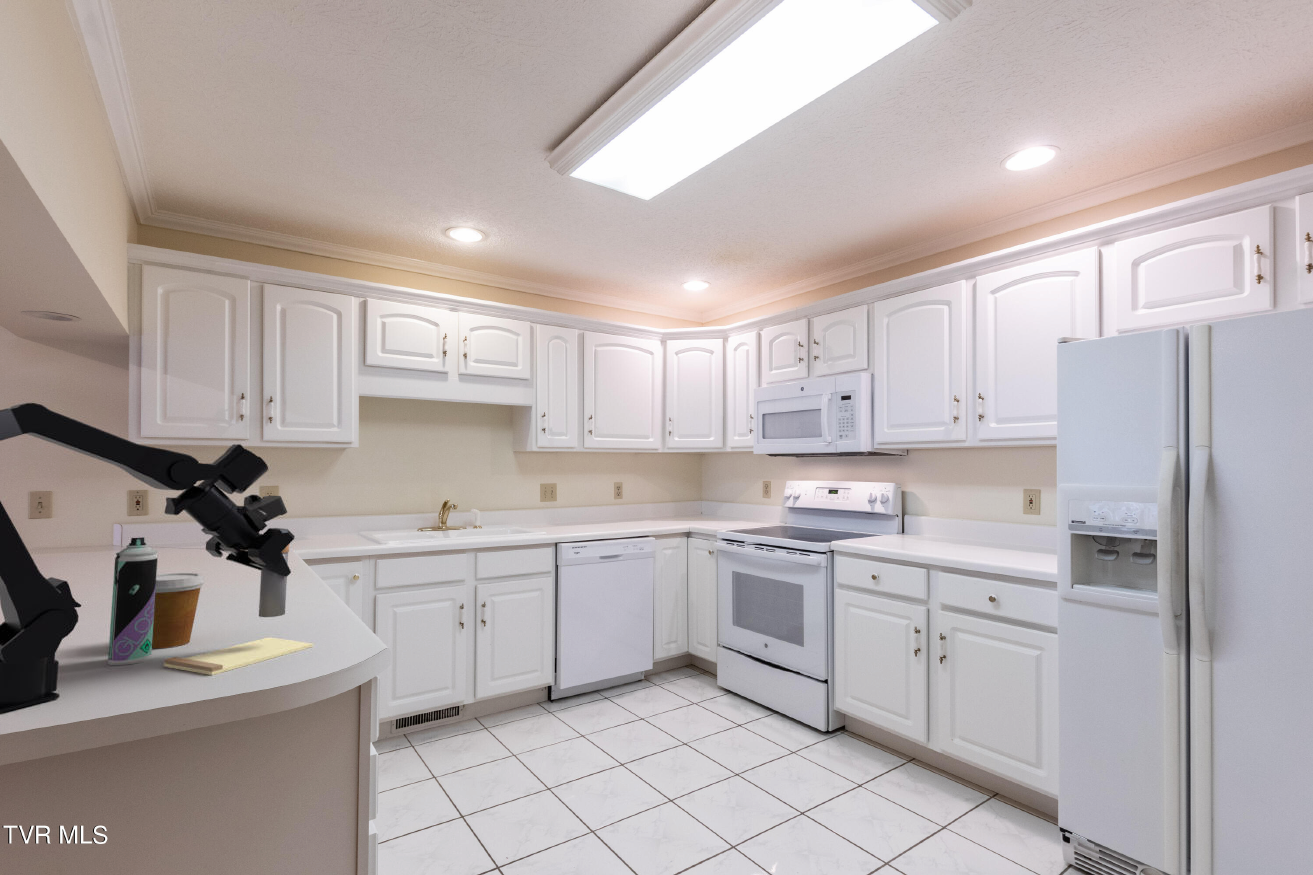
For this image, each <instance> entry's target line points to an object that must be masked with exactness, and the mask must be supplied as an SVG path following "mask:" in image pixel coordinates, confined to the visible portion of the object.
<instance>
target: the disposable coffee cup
mask: <svg viewBox="0 0 1313 875" xmlns="http://www.w3.org/2000/svg"><path fill="white" fill-rule="evenodd" d="M204 583H205V581H204V580H203V576H202V573H195V572H194V573H193V572H178V573H177V572H176V573H175V572H174V573H164V574H163V573H161V574H156V590H155V605H154V621H153V636H152V649H169V648H175V647H179V646H183V645H187V644H189V643H190V641H191V638H192V637H191V636H192V632H193V626H194V622H195V617H196V612H197V609H198V608H197V607H198V603H199V597H200V594H201V593H200V592H201V588H202V587H203V584H204Z"/></svg>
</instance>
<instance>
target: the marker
mask: <svg viewBox="0 0 1313 875" xmlns="http://www.w3.org/2000/svg"><path fill="white" fill-rule="evenodd" d="M289 552H290V544H289V545H288V546H287V547H286V548H285V549H284V550H283V551H282V554H283V556H284V558H285V560H286V562H287V564H288V562H289ZM288 565H289V564H288ZM287 580H288V576H287V577H285V576H282V575H279V574H277V573H274V572H271V571H269V570H266V569H263V568H261V571H260V581H259V582H260V584H259V585H260V586H259V600H258V602H259V603H258V604H259V605H258V617H259V618H274V617H280V616H284V615H285V614H286V601H287V600H286V598H287V582H288V581H287Z"/></svg>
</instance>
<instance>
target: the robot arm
mask: <svg viewBox="0 0 1313 875" xmlns="http://www.w3.org/2000/svg"><path fill="white" fill-rule="evenodd" d="M22 435H28V436H31V437H33V438H37V439H40V440H42V441H46V442H49V443H51V444H54V445H57V446H59V447H61V448H64V449H67V450H71V451H73V452H77V453H79V454H82V455H85V456H87V457H91V458H93V459H97V460H99V461H101V462H104V463H107V464H110V465H113V466H115V467H118V468H120V469H121V470H123V471H124V472H126V473H127V474H129V475H130V476H132V477H133V478H136V480H139V481H141V482H143V483H144V484H146V485H147V486H149V487H152V488H154V489H157V490H162V491H163V490H164V491H181V493H179V494H178V495H177V496H176V497H166V498H165V501H166V504H165V506H164V507H165V508H164V514H166V515H169V516H170V515H172V516H178V515H180V514H181V513H182V512H183V511H184V512H185V513H186V514H188V515H189V516H190V517H191V519H193V520H195V521H196V522H197V524H199V526H201V527H202V529H201V530H200V531H201V532H202V533H204V534H205V535H209V536H210V535H211V537H210V538H209V539H208V540H207V541H206V542H205V551H206V552H207V553H209V554H210V555H211V556H212V557H214V558H222V557H223V556H224V553H223V552H225V553H227V554H228V555H227V556H226V558H225V560H226V561H230V562H233V563H236V564H239V565H242V566H245V567H248V568H251V569H254V570H258V571H260V572H261V568H263V569H266V570H269V571H271V572H274V573H277V574H279V575H282V576H285V577H287V578H288V577H289V575H291V572H292V571H291V569H290V567H289V564H287V562H286V560H285V558H284V556H283V554H282V551H283V550H284V549H285V548H286V547H287V546H288V545H289V546H290V544H291V543H292V542H293V541H294V540H295V537H296V536H295V535H294V534H293V533H292V532H291V531H290V530H289V529H288V528H281V527H271V528H267V526H268V524H266V523H267V522H269V521H272V520H273V519H275V518H278V517H279V516H284V515H286V514H287V513H288V511H287V507H286V506H285V503H284V500H283V498H282V496H281V495H268V496H267V495H264V496H262V497H261V496H259V495H258V494H250V495H247V496H246V497H244V499H243V505H237V504H236V503H235V501H233V500H232V499H231V498H230V497H229V496H228V495H227V494H229V495H232V494H234V493H236V494H240V495H242V494H243V493H245V492H246V491H247V490H248V489H249V488H250V487H251V486H252V485H253V484H254V483H256V482H257V481H258V480H259V479H260V478H261V477H262V476H264V475H265V474H266V473H267V472H268V471H269V466H268V464H267V463H266V462H265V460H264V459H263V458H262V457H261V456H258V455H256V454H255V453H254V452H252V451H251V450H249V449H246V448H245V447H243V446H242V444H241V443H240V444H239V443H238V444H236V443H235V444H234V443H233V444H232V445H231V446H230V447H228V448H227V449H226V451H225V452H224V453H223V454H222V455H221V456H219V457H218V458H217V459H215V460H214V461H213V462H212V463H204V462H203V463H202V462H199V460H198V459H197V458H195V457H194V456H192V455H190V454H186V453H181V452H177V451H173V450H170V449H165V448H160V447H159V448H158V447H153V446H147V445H143V444H139V443H136V442H134V441H131V440H128V439H125V438H122V437H121V436H118V435H116V434H113V433H110V432H108V431H106V430H105V431H104V430H102V429H100V428H98V427H95V426H92V425H89V424H87V423H84V422H81V421H79V420H76V419H74V418H71V417H69V416H66V415H64V414H60V413H59V412H56V411H53V410H51V409H50V408H47V407H46V406H45V405H42V404H39V403H36V402H27V403H25V402H24V403H18V404H15V405H13V406H10V407H9V408H4V409H0V442H1V441H4V440H8V439H11V438H15V437H19V436H22ZM198 482H200V483H199V484H197V483H198ZM196 484H197V485H196ZM265 528H267V529H266V531H265V532H263V533H260V532H261V531H264V530H265ZM81 607H82V604H81V603H79V602H78V601H76V599H75V598H74V596H73V594H72V591H71V587H70V585H69V583H68V580H64V579H59V578H56V577H53V576H50V577H49V578H46V577H45V576H44V575H43V574H42V573H41V571H40V570H39V568H38V566H37V564H36V563H35V561H34V559H33V557H32V556H31V553H30V552H29V550H28V547H26V544H25V542H24V541H23V539H22V538H21V535H20V533H19V532H18V529H17V528H16V526H15V524H14V523H13V521H12V519H11V517H10V516H9V514H8V511H6V509H5V507H4V505H3V503H2V501H1V500H0V608H1V612H2V615H3V619H4V621H2V623H0V713H4V712H10V711H12V710H13V711H14V710H17V709H20V708H24V707H28V706H31V705H36V704H39V703H40V704H41V703H44V702H47V701H50V700H56V699H59V698H60V696H61V695H60V693H58V692H56V691H57V688H58V677H59V676H58V674H59V663H60V661H59V660H57V659H56V654H57V650H58V648H59V647H60V645H61V643H62V641H63V639H65V638H66V637H68V636H69V635H70V634H71V633H72V632H73V631H74V629H75V627H76V626H77V624H78V622H79V613H78V610H77V609H76V608H81Z"/></svg>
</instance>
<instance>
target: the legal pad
mask: <svg viewBox="0 0 1313 875" xmlns="http://www.w3.org/2000/svg"><path fill="white" fill-rule="evenodd" d="M313 646H314V644H313V643H310V642H303V641H297V640H290V639H284V638H283V639H282V638H275V637H270V636H269V637H265V638H261V639H257V640H253V641H249V642H246V643H240V644H237V645H232V646H228V647H225V648H221V649H217V650H213V651H208V652H205V653H201V654H197V655H192V656H188V657H184V658H183V657H178V656H174V657H168V658H165V659H164V667H165V668H171V669H175V670H183V671H187V672H193V673H197V674H198V673H199V674H203V675H209V676H214V675H218V674H221V673H225V672H228V671H231V670H234V669H238V668H242V667H247V666H249V665H253V664H256V663H260V662H264V661H266V660H270V659H273V658H277V657H281V656H284V655H288V654H292V653H296V652H299V651H302V650H305V649H309V648H313Z"/></svg>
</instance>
